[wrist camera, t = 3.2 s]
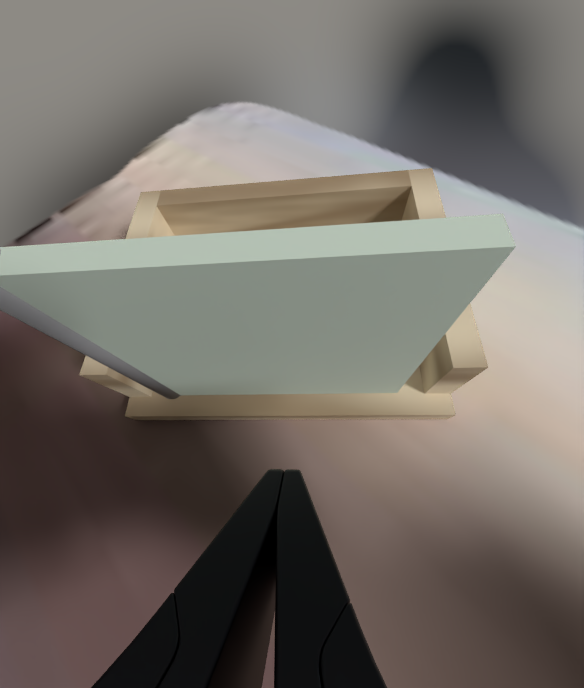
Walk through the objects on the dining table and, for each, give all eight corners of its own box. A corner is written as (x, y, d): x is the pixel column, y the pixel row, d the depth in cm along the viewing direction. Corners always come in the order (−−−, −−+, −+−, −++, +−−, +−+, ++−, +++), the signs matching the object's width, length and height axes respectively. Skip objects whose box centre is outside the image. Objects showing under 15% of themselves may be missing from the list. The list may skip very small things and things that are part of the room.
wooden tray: (447, 419, 14) (495, 394, 10) (136, 420, 16) (71, 398, 12) (409, 234, 19) (431, 168, 15) (176, 248, 21) (141, 192, 17)
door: (397, 397, 14) (518, 254, 5) (160, 399, 15) (-66, 286, 6) (394, 372, 14) (499, 206, 6) (164, 376, 15) (-38, 243, 7)
